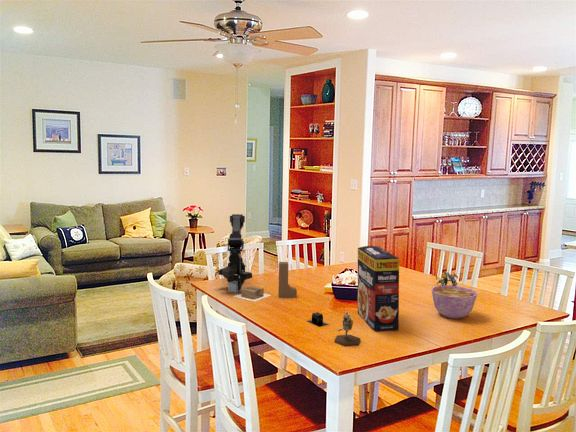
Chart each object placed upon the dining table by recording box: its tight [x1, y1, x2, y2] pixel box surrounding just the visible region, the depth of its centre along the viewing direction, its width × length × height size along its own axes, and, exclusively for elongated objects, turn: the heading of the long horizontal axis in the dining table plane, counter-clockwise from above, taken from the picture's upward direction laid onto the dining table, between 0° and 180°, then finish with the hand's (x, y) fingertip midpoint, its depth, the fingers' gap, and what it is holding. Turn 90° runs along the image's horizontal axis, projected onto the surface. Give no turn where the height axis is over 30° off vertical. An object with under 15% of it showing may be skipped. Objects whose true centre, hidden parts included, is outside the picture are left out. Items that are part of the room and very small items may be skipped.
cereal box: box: [357, 245, 400, 332], centre depth 217 cm, size 27×11×32 cm, turn 8°
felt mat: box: [232, 293, 271, 302], centre depth 254 cm, size 14×14×1 cm
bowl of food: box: [431, 285, 478, 319], centre depth 229 cm, size 20×20×12 cm
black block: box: [306, 311, 330, 328], centre depth 216 cm, size 12×7×5 cm, turn 37°
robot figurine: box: [333, 312, 361, 347], centre depth 194 cm, size 11×9×12 cm
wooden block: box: [277, 261, 298, 299], centre depth 253 cm, size 9×4×18 cm, turn 95°
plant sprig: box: [435, 270, 459, 286], centre depth 278 cm, size 11×11×12 cm
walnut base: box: [240, 285, 265, 300], centre depth 252 cm, size 8×8×4 cm
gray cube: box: [227, 281, 243, 293], centre depth 263 cm, size 5×5×5 cm
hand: (235, 289), depth 263 cm, fingers closed on gray cube, 5 cm apart
